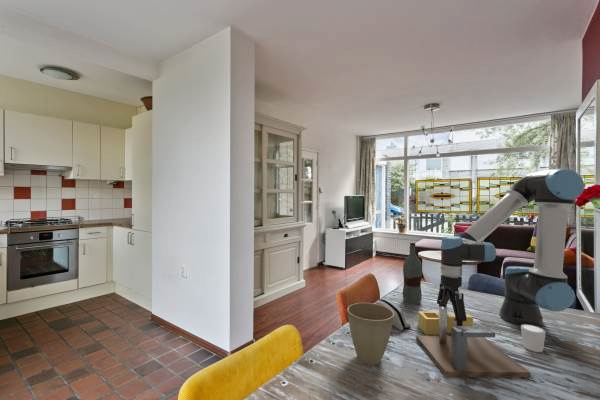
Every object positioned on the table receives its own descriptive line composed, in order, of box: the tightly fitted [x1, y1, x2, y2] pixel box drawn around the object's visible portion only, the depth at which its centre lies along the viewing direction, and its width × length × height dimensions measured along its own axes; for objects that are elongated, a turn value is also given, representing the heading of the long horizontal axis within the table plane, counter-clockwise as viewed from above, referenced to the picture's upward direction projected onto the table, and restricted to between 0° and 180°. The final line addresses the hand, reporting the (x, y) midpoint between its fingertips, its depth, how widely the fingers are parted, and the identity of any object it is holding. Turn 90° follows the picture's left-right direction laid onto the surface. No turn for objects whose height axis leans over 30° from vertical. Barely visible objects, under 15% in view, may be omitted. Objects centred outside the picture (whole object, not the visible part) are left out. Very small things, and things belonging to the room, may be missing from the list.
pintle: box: [438, 306, 448, 344], centre depth 103 cm, size 2×2×14 cm
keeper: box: [451, 325, 496, 371], centre depth 87 cm, size 11×4×13 cm, turn 90°
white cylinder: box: [520, 324, 547, 353], centre depth 102 cm, size 7×7×7 cm
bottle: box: [402, 242, 423, 306], centre depth 146 cm, size 9×9×30 cm
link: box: [417, 310, 474, 336], centre depth 116 cm, size 20×8×6 cm, turn 90°
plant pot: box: [347, 302, 394, 366], centre depth 95 cm, size 15×15×16 cm
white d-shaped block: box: [375, 298, 412, 331], centre depth 123 cm, size 17×5×10 cm, turn 17°
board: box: [415, 335, 531, 378], centre depth 97 cm, size 25×22×2 cm
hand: (450, 329), depth 116 cm, fingers open, 11 cm apart
